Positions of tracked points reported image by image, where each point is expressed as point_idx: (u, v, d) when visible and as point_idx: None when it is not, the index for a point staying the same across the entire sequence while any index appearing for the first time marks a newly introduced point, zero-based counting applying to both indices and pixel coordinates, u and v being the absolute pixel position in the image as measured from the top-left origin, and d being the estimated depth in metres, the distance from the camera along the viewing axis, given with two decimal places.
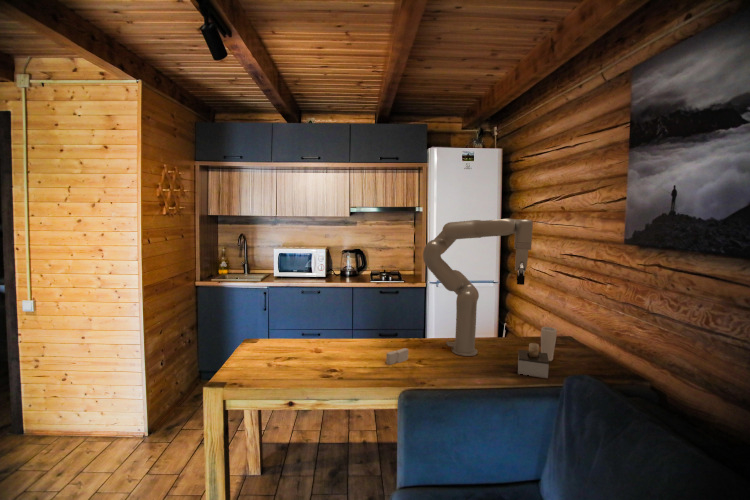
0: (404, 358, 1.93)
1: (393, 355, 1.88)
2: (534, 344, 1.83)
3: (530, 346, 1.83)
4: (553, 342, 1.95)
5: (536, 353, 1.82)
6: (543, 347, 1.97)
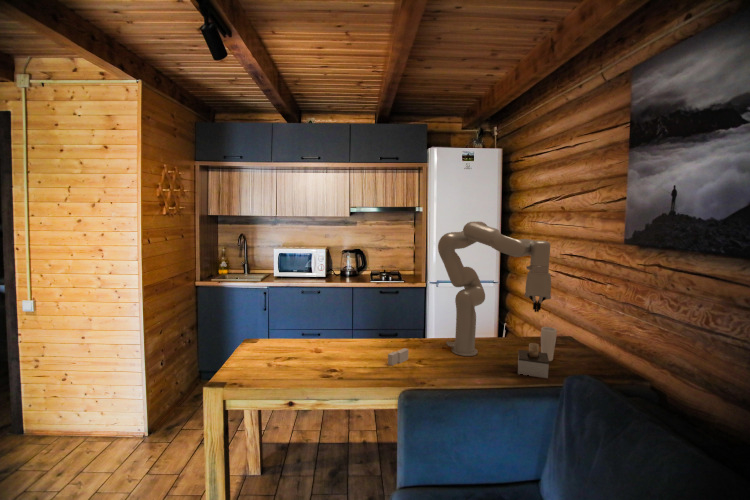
0: (405, 358, 1.93)
1: (394, 356, 1.88)
2: (534, 344, 1.83)
3: (530, 346, 1.83)
4: (553, 342, 1.95)
5: (536, 353, 1.82)
6: (543, 347, 1.97)
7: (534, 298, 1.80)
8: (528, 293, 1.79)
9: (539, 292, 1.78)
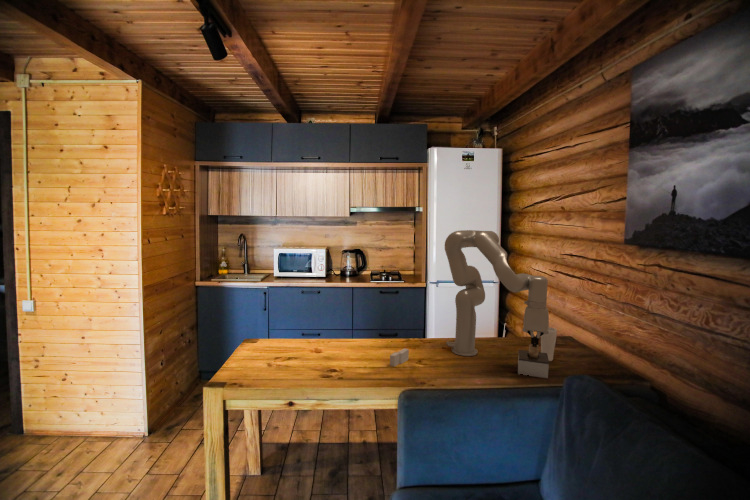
0: (405, 358, 1.92)
1: (396, 356, 1.87)
2: None
3: (530, 347, 1.83)
4: (553, 342, 1.95)
5: (536, 354, 1.82)
6: (543, 347, 1.97)
7: (532, 333, 1.82)
8: (526, 328, 1.81)
9: (537, 327, 1.79)
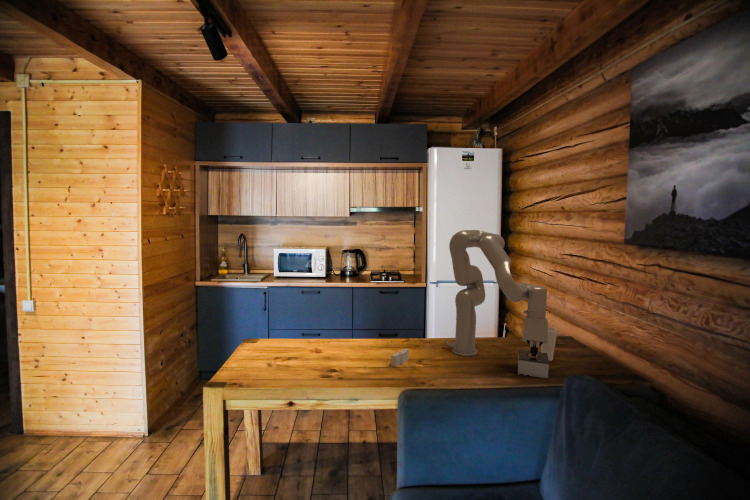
0: (406, 359, 1.92)
1: (398, 357, 1.86)
2: None
3: None
4: (553, 342, 1.95)
5: None
6: (543, 347, 1.97)
7: (531, 342, 1.82)
8: (525, 338, 1.81)
9: (536, 337, 1.80)
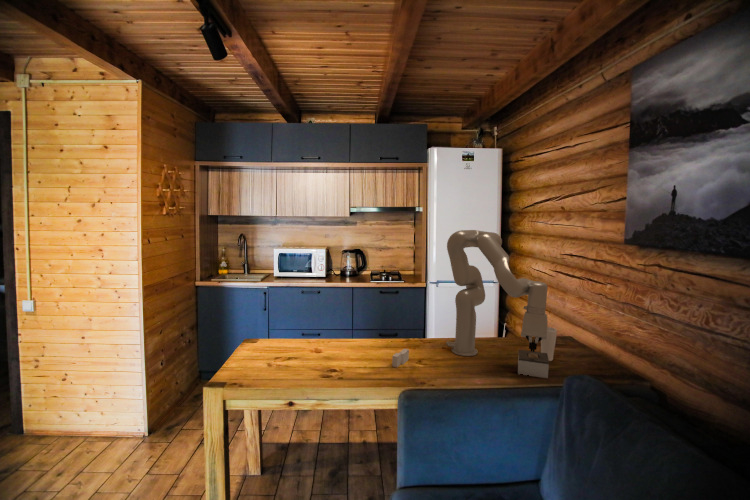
0: (406, 359, 1.92)
1: (399, 357, 1.86)
2: (533, 355, 1.84)
3: None
4: (553, 342, 1.95)
5: None
6: (543, 347, 1.97)
7: (530, 338, 1.82)
8: (524, 333, 1.82)
9: (535, 333, 1.80)
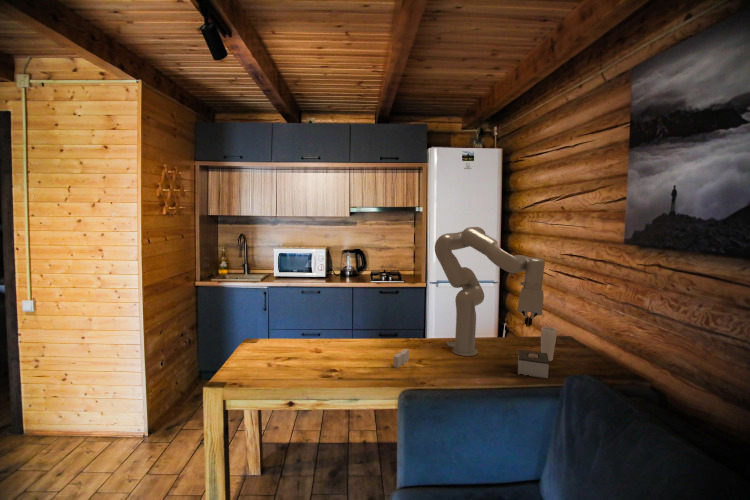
0: (406, 359, 1.92)
1: (400, 357, 1.86)
2: (533, 355, 1.84)
3: None
4: (553, 342, 1.95)
5: None
6: (543, 347, 1.97)
7: (526, 313, 1.85)
8: (520, 308, 1.84)
9: (531, 308, 1.82)
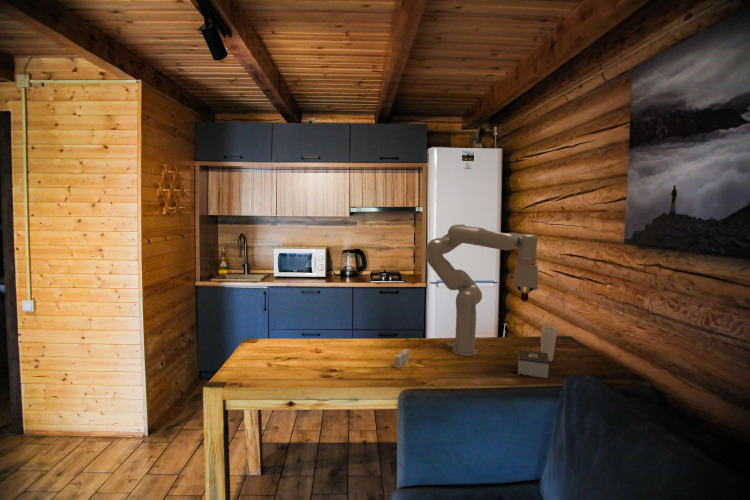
0: (407, 359, 1.92)
1: (401, 358, 1.86)
2: (533, 355, 1.84)
3: None
4: (553, 342, 1.95)
5: None
6: (543, 347, 1.97)
7: (522, 289, 1.89)
8: (516, 284, 1.88)
9: (526, 283, 1.87)
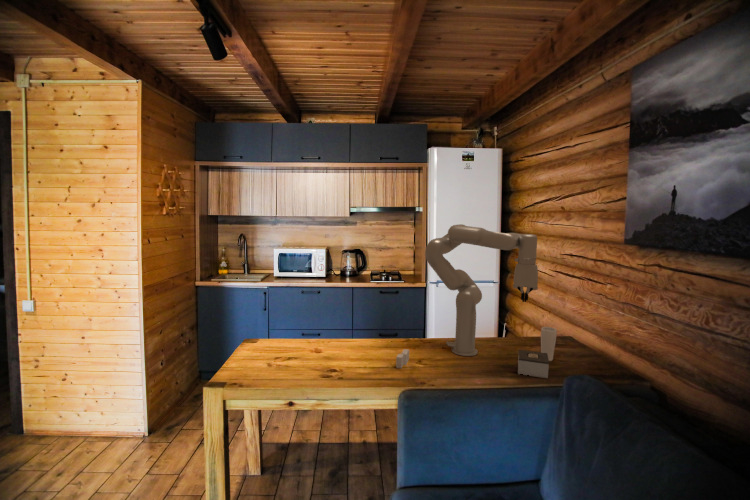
0: (407, 359, 1.92)
1: (402, 358, 1.85)
2: (533, 355, 1.84)
3: None
4: (553, 342, 1.95)
5: None
6: (543, 347, 1.97)
7: (522, 289, 1.89)
8: (516, 284, 1.88)
9: (526, 283, 1.87)
